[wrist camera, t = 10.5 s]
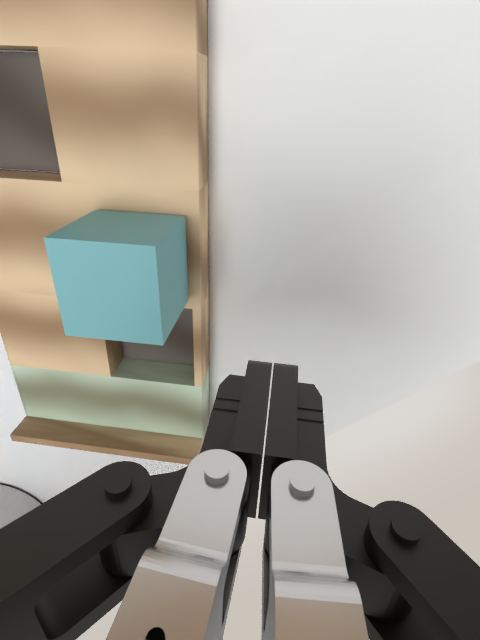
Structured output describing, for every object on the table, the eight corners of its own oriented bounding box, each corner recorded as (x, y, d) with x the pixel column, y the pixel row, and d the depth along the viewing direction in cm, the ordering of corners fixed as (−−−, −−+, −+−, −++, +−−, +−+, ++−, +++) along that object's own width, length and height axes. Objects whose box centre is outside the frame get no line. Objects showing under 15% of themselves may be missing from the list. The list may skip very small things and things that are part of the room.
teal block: (189, 298, 23) (162, 345, 19) (109, 290, 24) (65, 335, 19) (186, 214, 21) (155, 246, 16) (97, 208, 21) (43, 237, 17)
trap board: (209, 421, 31) (196, 465, 28) (45, 401, 33) (12, 440, 29) (207, -67, 17) (180, -115, 13) (-84, -68, 18) (-183, -111, 15)
